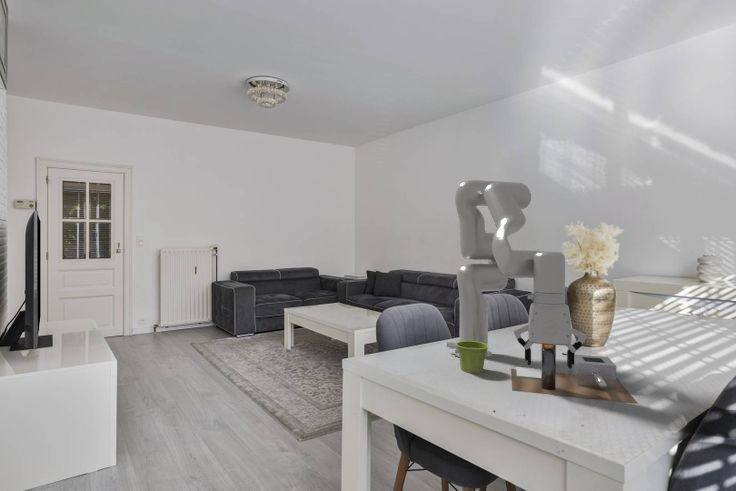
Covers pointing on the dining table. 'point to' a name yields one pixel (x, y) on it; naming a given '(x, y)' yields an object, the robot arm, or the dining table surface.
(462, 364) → the plant pot
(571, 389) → the walnut board
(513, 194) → the robot arm
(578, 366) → the block
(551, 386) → the key peg
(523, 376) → the mat
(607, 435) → the dining table surface
